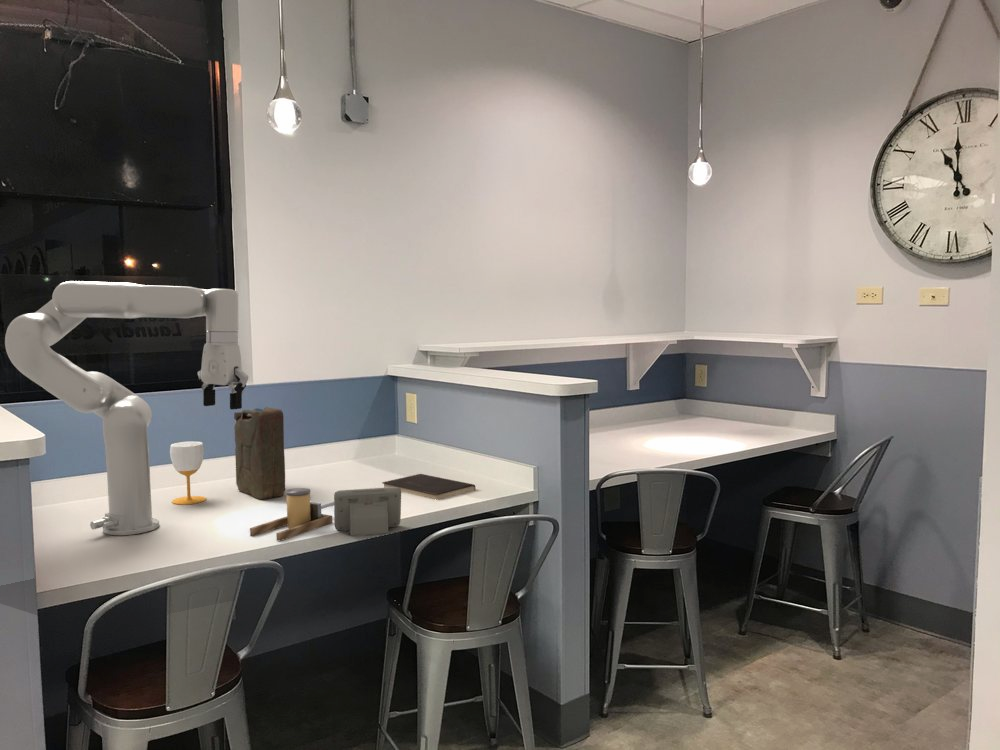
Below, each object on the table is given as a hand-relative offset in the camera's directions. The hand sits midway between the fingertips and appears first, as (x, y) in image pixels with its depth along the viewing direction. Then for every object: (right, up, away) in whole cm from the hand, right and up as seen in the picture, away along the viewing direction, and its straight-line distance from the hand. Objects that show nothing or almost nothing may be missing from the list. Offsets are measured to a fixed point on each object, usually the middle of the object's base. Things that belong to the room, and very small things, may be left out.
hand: (222, 407), depth 204 cm
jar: (+20, -29, -2) cm, 35 cm away
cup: (-18, -27, +24) cm, 41 cm away
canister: (0, -26, +33) cm, 42 cm away
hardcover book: (+48, -26, +37) cm, 66 cm away
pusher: (+24, -28, +4) cm, 37 cm away
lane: (+19, -30, -5) cm, 35 cm away
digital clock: (+37, -30, -6) cm, 48 cm away
